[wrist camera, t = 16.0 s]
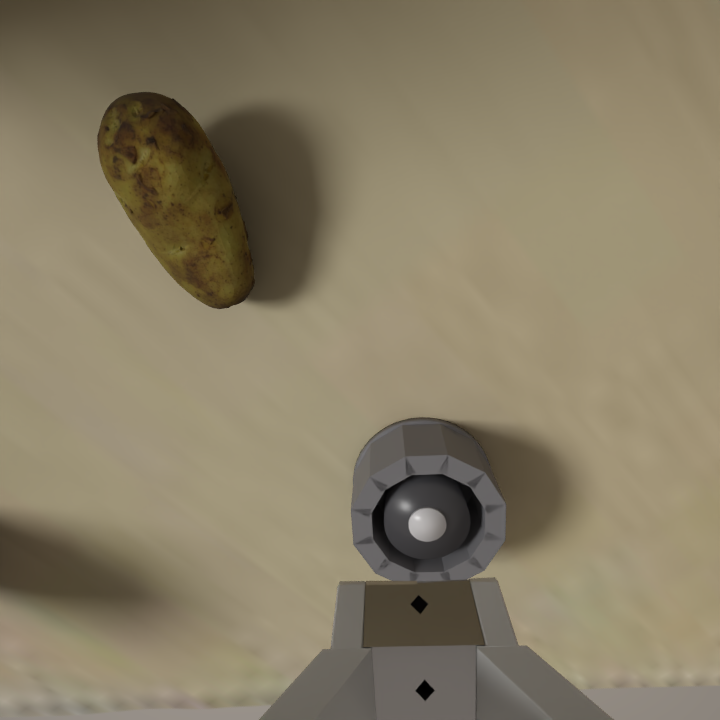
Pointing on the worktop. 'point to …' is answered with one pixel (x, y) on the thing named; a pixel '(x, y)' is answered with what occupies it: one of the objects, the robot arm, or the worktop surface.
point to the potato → (177, 196)
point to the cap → (426, 516)
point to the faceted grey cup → (423, 457)
